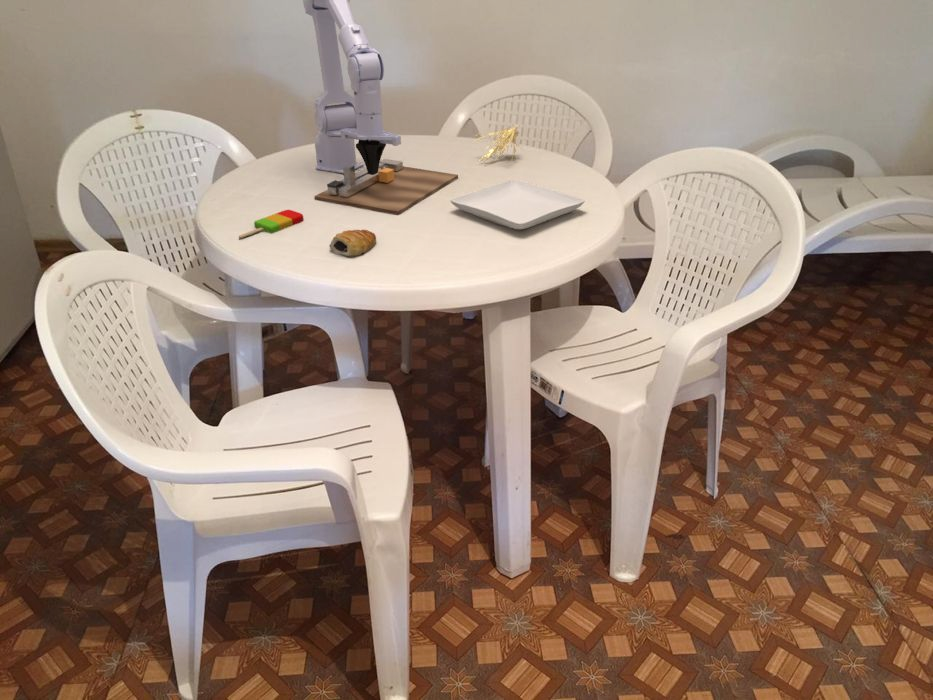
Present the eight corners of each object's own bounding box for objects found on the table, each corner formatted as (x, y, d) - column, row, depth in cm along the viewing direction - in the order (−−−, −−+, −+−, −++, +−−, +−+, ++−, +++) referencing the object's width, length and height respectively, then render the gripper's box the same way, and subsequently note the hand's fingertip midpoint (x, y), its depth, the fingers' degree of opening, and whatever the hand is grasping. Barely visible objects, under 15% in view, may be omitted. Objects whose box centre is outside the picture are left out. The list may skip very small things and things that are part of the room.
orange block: (385, 177, 173) (385, 167, 171) (394, 179, 172) (393, 169, 171) (378, 181, 170) (378, 171, 169) (387, 182, 169) (386, 172, 168)
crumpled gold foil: (470, 169, 191) (460, 139, 184) (509, 138, 195) (500, 108, 189) (500, 179, 183) (490, 149, 177) (539, 147, 188) (531, 116, 182)
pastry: (359, 237, 145) (357, 219, 143) (385, 244, 142) (384, 226, 140) (327, 252, 138) (325, 234, 136) (353, 261, 135) (352, 242, 133)
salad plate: (513, 190, 169) (513, 176, 167) (586, 213, 156) (587, 198, 154) (447, 213, 156) (447, 198, 155) (520, 240, 143) (521, 224, 142)
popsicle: (306, 222, 152) (305, 213, 151) (249, 245, 142) (247, 236, 141) (289, 216, 155) (288, 208, 154) (231, 238, 145) (229, 229, 144)
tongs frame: (385, 165, 181) (384, 156, 180) (402, 167, 179) (402, 159, 178) (328, 193, 163) (327, 184, 162) (347, 197, 161) (346, 187, 160)
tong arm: (382, 173, 176) (380, 148, 172) (390, 174, 175) (388, 149, 172) (339, 195, 162) (336, 169, 159) (347, 197, 161) (345, 170, 158)
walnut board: (381, 166, 184) (381, 162, 184) (458, 178, 176) (458, 174, 175) (314, 199, 163) (314, 196, 163) (398, 215, 154) (398, 211, 154)
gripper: (330, 112, 157) (336, 174, 164) (387, 119, 151) (391, 182, 158) (349, 105, 162) (354, 165, 169) (404, 112, 156) (407, 173, 163)
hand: (373, 173), depth 164 cm, fingers closed
